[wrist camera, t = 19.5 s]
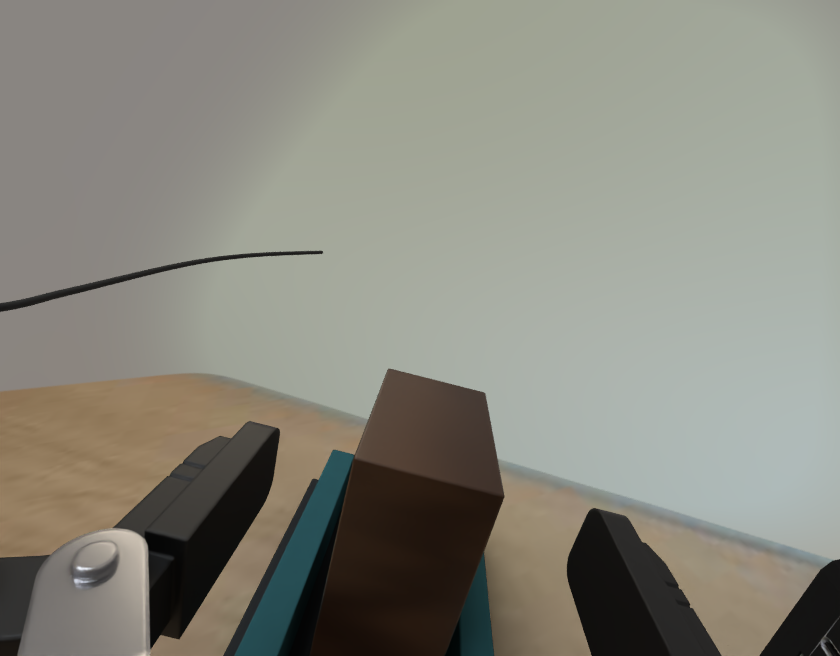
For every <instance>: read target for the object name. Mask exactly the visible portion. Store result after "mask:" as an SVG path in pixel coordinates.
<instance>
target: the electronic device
mask: <svg viewBox="0 0 840 656" xmlns="http://www.w3.org/2000/svg"><path fill="white" fill-rule="evenodd" d="M760 656H840V559H839V560H834V561H832V562H830V563H829V564H828V565H826V566H825V567H824V568H822V569H821V570H820V571H819V573H818V574H817V576H816V577H815V578H814V580H813V581H812V583H811V584H810V585H809V587H808V588H807V590H806V591H805V592H804V594H803V595H802V597H801V598H800V599H799V601H798V602H797V604H796V605H795V606H794V608H793V609H792V611H791V612H790V613H789V615H788V616H787V618H786V619H785V621H784V622H783V623H782V625H781V626H780V628H779V629H778V630H777V632H776V633H775V635H774V636H773V637H772V639H771V640H770V642H769V643H768V644H767V646H766V647H765V649H764V650H763V651H762V653H761V654H760Z"/></svg>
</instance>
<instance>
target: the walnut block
mask: <svg viewBox="0 0 840 656" xmlns="http://www.w3.org/2000/svg"><path fill="white" fill-rule="evenodd" d="M503 499H504V491H503V486H502V481H501V475H500V470H499V465H498V459H497V454H496V449H495V443H494V438H493V433H492V427H491V422H490V417H489V411H488V406H487V401H486V396H485V393H484V392H480V391H476V390H472V389H468V388H464V387H460V386H456V385H452V384H448V383H444V382H440V381H437V380H432V379H429V378H424V377H421V376H417V375H413V374H409V373H405V372H401V371H397V370H393V369H388V370H387V373H386V375H385V378H384V381H383V383H382V386H381V389H380V391H379V394H378V396H377V399H376V401H375V404H374V407H373V409H372V412H371V414H370V417H369V420H368V422H367V425H366V427H365V430H364V432H363V435H362V438H361V440H360V443H359V445H358V448H357V451H356V453H355V456H354V458H353V463H352V467H351V472H350V476H349V481H348V485H347V490H346V494H345V499H344V503H343V508H342V512H341V517H340V521H339V525H338V530H337V534H336V539H335V543H334V548H333V552H332V557H331V561H330V566H329V570H328V575H327V579H326V584H325V588H324V593H323V597H322V602H321V606H320V610H319V615H318V619H317V624H316V628H315V633H314V637H313V642H312V646H311V651H310V655H309V656H445V655H446V652H447V649H448V647H449V644H450V641H451V639H452V636H453V633H454V631H455V628H456V625H457V623H458V620H459V617H460V615H461V612H462V609H463V606H464V604H465V601H466V598H467V596H468V593H469V590H470V588H471V585H472V582H473V580H474V577H475V574H476V572H477V569H478V566H479V563H480V561H481V558H482V555H483V553H484V550H485V547H486V545H487V542H488V539H489V537H490V534H491V531H492V529H493V526H494V523H495V521H496V518H497V515H498V512H499V510H500V507H501V504H502V502H503Z"/></svg>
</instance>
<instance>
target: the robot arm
mask: <svg viewBox="0 0 840 656" xmlns="http://www.w3.org/2000/svg"><path fill="white" fill-rule="evenodd" d="M322 253H323V251H295V252H268V253H267V252H266V253H250V254H239V255H228V256H219V257H212V258H205V259H199V260H192V261H187V262H182V263H177V264H172V265H167V266H162V267H158V268H153V269H148V270H144V271H140V272H135V273H131V274H128V275H123V276H119V277H114V278H110V279H106V280H102V281H98V282H93V283H89V284H85V285H80V286H76V287H72V288H67V289H63V290H58V291H54V292H51V293H46V294H42V295H39V296H35V297H31V298H26V299H22V300H17V301H12V302H6V303H0V312H1V311H8V310H13V309H18V308H23V307H27V306H31V305H35V304H38V303H42V302H45V301H49V300H52V299H56V298H60V297H64V296H68V295H72V294H76V293H80V292H84V291H88V290H92V289H96V288H100V287H103V286H107V285H112V284H115V283H120V282H124V281H127V280H131V279H135V278H139V277H143V276H147V275H151V274H155V273H159V272H164V271H168V270H172V269H177V268H181V267H186V266H191V265H196V264H202V263H208V262H214V261H221V260H229V259H238V258H248V257H262V256H279V255H303V254H322ZM279 436H280V430H279V428H275V427H271V426H267V425H263V424H259V423H255V422H251V421H249V422H247V423H246V424H245V425H244V426H243V427H242V428H241V429H240V430H239V431H238V432H237V433H236V434H235V435H234V436H233V437H232V438H227V437H223V436H219V437H217V438H215V439H213V440H211V441H209V442H206V443H204V444H202V445H200V446H199V447H198V448H196V449H195V450H194V451H193V452H192V453H191V454H190V455H189V456H188V457H187V458H186V459H185V460H184V462H183V464H180V465H179V466H178V467H176V468H175V469H174V470H173V471H172V472H171V474H170V476H167V477H166V478H165V479H164V480H163V481H162V482H161V483H160V484H159V485H158V486H156V487H155V488H154V489H153V490H152V491H151V492H150V493H149V494H148V495H147V496H146V497H145V498H144V499H143V500H142V501H141V502H140V503H139V504H138V505H137V506H135V507H134V508H133V509H132V510H131V511H130V512H129V513H128V514H127V515H126V516H125V517H124V518H123V519H122V520H121V521H120V522H119V523H118V524H117V525H115V526H114V527H113V528H112V529H103V530H98V531H94V532H90V533H87V534H84V535H82V536H79V537H77V538H75V539H73V540H71V541H69V542H68V543H66V544H64V545H63V546H61V547H60V548H58V549H57V550H56V551H54V552H53V553H52V554H51V555H44V556H28V557H6V558H0V656H150V649H151V648H152V647H153V645H154V644H155V642H156V641H157V639H158V638H159V636H160V635H164V636H168V637H172V638H176V639H180V637H181V636H182V634H183V633H184V631H185V629H186V628H187V626H188V625H189V623H190V621H191V620H192V618H193V617H194V615H195V613H196V612H197V610H198V609H199V607H200V605H201V604H202V602H203V601H204V599H205V597H206V596H207V594H208V593H209V591H210V589H211V588H212V586H213V585H214V583H215V581H216V580H217V578H218V577H219V575H220V574H221V572H222V570H223V569H224V567H225V566H226V564H227V562H228V561H229V559H230V558H231V556H232V554H233V553H234V551H235V550H236V548H237V546H238V545H239V543H240V542H241V540H242V538H243V537H244V535H245V534H246V532H247V530H248V529H249V527H250V526H251V524H252V522H253V521H254V519H255V518H256V516H257V514H258V513H259V511H260V510H261V508H262V506H263V505H264V503H265V501H266V499H267V496H268V494H269V491H270V488H271V485H272V481H273V476H274V470H275V463H276V456H277V450H278V443H279ZM567 578H568V582H569V586H570V589H571V592H572V595H573V598H574V602H575V605H576V608H577V611H578V614H579V617H580V620H581V623H582V627H583V630H584V633H585V636H586V639H587V642H588V645H589V649H590V652H591V655H592V656H721V654H720V652H719V651H718V649H717V647H716V646H715V644H714V642H713V641H712V639H711V638H710V636H709V634H708V633H707V631H706V629H705V628H704V626H703V624H702V623H701V621H700V619H699V618H698V616H697V615H696V613H695V611H694V610H693V609H692V608H690V603H689V601H688V600H687V598H686V597H685V595H684V593H683V592H682V590H681V589H679V588H678V586H679V585H678V583H677V582H676V580H675V578H674V577H673V575H672V574H671V572H670V570H669V569H668V567H667V565H666V564H665V563H664V562H663V560H662V559H661V558H660V557H659V556H658V555H657V554H656V553H655V552H654V551H653V550H652V549H651V548H650V547H649V546H648V545H647V544H646V543H643V542H642V541H641V540H640V538H639V536H638V534H637V533H636V531H635V529H634V527H633V526H632V524H631V522H630V521H629V519H628V518H627V517H626V516H624V515H620V514H616V513H612V512H608V511H604V510H600V509H596V508H593V509H591V510H590V511H589V512H588V514H587V516H586V518H585V520H584V522H583V525H582V527H581V529H580V531H579V534H578V536H577V538H576V540H575V542H574V545H573V547H572V549H571V551H570V554H569V557H568V562H567Z"/></svg>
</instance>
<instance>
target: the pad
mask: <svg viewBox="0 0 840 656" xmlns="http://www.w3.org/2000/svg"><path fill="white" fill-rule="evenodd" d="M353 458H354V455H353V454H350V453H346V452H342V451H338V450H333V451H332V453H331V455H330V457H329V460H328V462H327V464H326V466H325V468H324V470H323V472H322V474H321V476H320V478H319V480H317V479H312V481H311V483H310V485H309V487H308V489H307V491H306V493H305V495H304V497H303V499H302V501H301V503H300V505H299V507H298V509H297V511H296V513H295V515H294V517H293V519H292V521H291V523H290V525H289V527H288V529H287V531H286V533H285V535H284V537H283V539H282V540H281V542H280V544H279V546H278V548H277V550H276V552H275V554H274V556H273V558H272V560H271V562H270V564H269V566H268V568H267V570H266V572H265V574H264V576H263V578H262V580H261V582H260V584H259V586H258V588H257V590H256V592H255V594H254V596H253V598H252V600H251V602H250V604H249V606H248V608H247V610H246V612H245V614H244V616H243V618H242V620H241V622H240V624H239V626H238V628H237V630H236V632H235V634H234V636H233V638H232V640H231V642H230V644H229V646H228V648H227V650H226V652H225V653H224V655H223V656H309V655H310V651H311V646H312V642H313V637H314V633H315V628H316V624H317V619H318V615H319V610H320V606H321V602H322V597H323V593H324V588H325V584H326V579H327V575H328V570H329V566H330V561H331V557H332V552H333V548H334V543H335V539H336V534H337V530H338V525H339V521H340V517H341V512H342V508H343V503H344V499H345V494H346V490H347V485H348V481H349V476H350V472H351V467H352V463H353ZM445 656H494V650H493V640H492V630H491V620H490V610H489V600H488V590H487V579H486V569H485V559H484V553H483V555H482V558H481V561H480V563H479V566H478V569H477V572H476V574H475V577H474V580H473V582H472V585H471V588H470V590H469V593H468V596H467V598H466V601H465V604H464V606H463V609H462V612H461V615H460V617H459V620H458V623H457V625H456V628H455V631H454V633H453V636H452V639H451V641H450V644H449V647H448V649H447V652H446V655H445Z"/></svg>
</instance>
